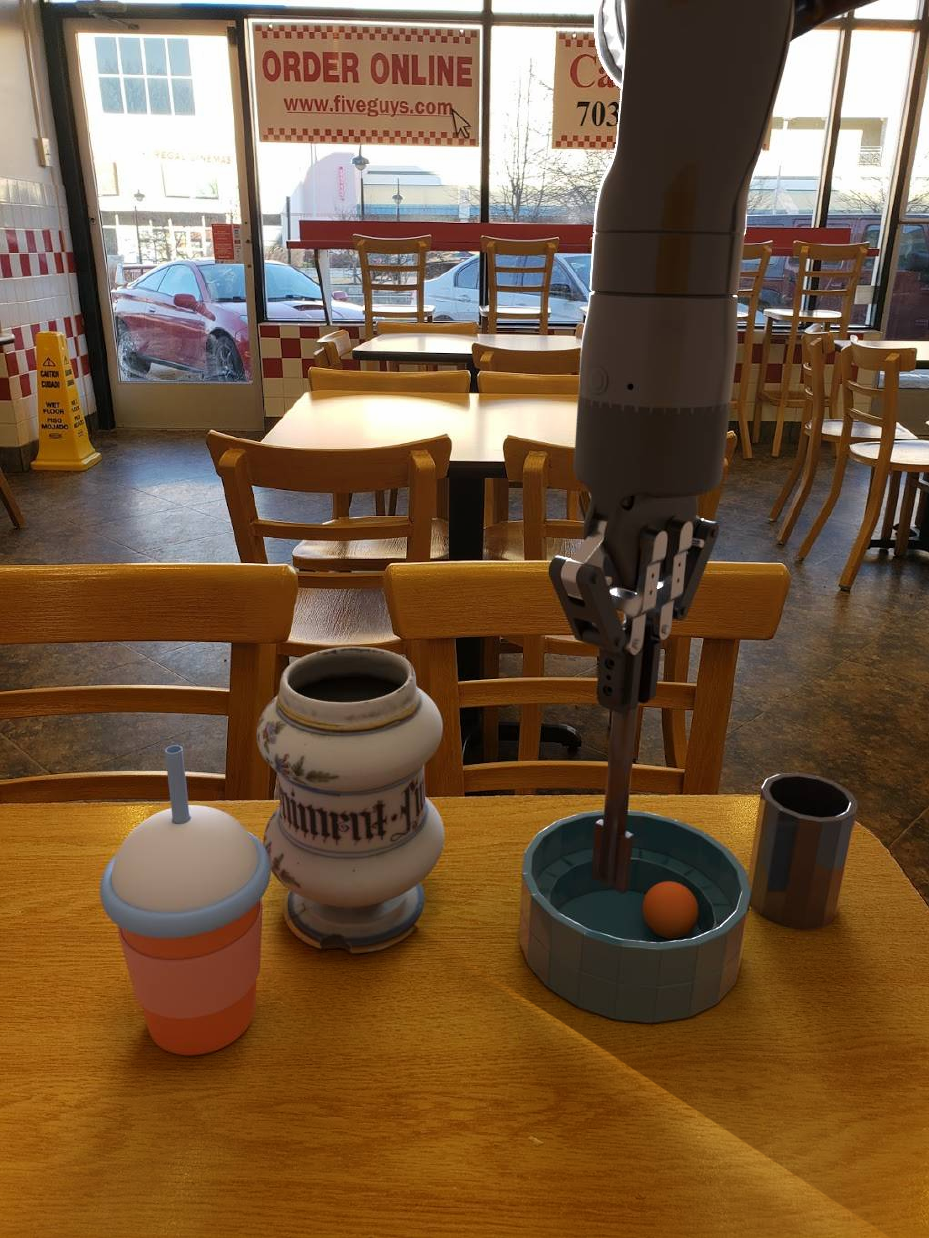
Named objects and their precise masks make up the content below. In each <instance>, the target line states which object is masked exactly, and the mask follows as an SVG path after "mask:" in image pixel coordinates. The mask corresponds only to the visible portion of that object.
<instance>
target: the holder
mask: <svg viewBox="0 0 929 1238" xmlns="http://www.w3.org/2000/svg"><path fill="white" fill-rule="evenodd" d="M858 806H859V803H858V802H857V800H856V798H855V796H854V794H853V793H852V792H851V791H850V790H848V789H847V788H845V787H844V786H842V785H841V784H840V783H837V782H836V781H833V780H830V779H828V778H825V777H823V776H821V775H815V774H809V773H803V772H786V773H785V772H784V773H777V774H776V775H773V776H771V777H769V778H766V779H765V780H764V782H763V784H762V786H761V789H760V795H759V802H758V808H757V815H756V822H755V827H754V835H753V840H752V847H751V853H750V854H751V855H750V861H749V866H748V867H749V868H748V873H747V877H748V881H749V885H750V888H751V900H750V907H752V909H754V910H755V912H756V913H758V914H759V915H760V916H762V917H763V918H765V919H766V920H768V921H769V922H772V923H775V924H776V925H779V926H782V927H786V928H790V929H795V930H803V931H804V930H806V931H807V930H817V929H820V928H824V927H826V926H828V925H829V924H831V923H832V922H833V921H834V920H835V918H836V915H837V912H838V909H839V903H840V899H841V893H842V888H843V882H844V877H845V872H846V867H847V863H848V857H849V852H850V848H851V842H852V837H853V832H854V828H855V822H856V816H857V813H858V812H857V811H858Z"/></svg>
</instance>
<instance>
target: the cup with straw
mask: <svg viewBox="0 0 929 1238" xmlns="http://www.w3.org/2000/svg"><path fill="white" fill-rule="evenodd" d="M183 749H184V748H183V747H182V746H181V745H176V744H174V745H170V746H167V747H166V748H164V754H165V763H166V773H167V783H168V790H169V798H170V799H169V800H170V808H167V809H164V810H161V811H159V812H157V813H154V814H152V815H151V816H149V817H147V818H146V819H145V820H143V821H142V822H140V823H139V824H138V825H137V826H136V827H134V828H133V830H131V832H130V833H129V834H128V835H127V836H126V838H125V839H124V840H123V842H122V843H121V845H120V846H119V848H118V851H117V852H116V854H115V855H114V856H113V857H111V859H110V861H109V862H108V864H107V865H106V867H105V869H104V871H103V873H102V877H101V879H100V886H99V897H100V902H101V906H102V908H103V909H104V912H105V913H106V915H107V916H108V918H109V919H110V920H111V922H113V923H114V924H115V925H116V926H117V932H118V938H119V941H120V945H121V949H122V952H123V956H124V959H125V964H126V967H127V971H128V974H129V978H130V982H131V984H132V990H133V993H134V996H135V998H136V1000H137V1001H138V1003H139V1004H140V1005H141V1009H142V1012H143V1015H144V1020H145V1024H146V1027H147V1030H148V1033H149V1035H150V1037H151V1039H152V1041H153V1042H154V1043H155V1044H156V1045H157V1046H158V1047H160V1048H161V1049H162V1050H164V1051H165V1052H168V1053H171V1054H175V1055H181V1056H199V1055H206V1054H209V1053H213V1052H215V1051H218V1050H220V1049H223V1048H225V1047H227V1046H228V1045H230V1044H231V1043H233V1042H234V1041H236V1040H237V1039H238V1038H240V1037H241V1036H242V1035H243V1034H244V1033H245V1032H246V1031H247V1029H248V1028H249V1027H250V1025H251V1023H252V1021H253V1019H254V1015H255V1011H256V1002H257V1001H256V1000H257V982H258V981H257V979H258V977H259V974H260V970H261V956H262V955H261V954H262V933H263V932H262V931H263V929H262V927H263V900H262V898H263V897H264V895H265V893H266V892H267V889H268V887H269V884H270V881H271V876H272V871H271V863H270V858H269V855H268V852H267V850H266V848H265V847H264V845H263V841H261V840H260V839H259V838H258V837H257V836H256V835H255V834H253V833H252V832H250V831H248V830H247V828H246V827H245V826H244V825H243V824H242V823H241V822H240V821H239V820H238V819H236V818H235V817H233V816H232V815H230V814H229V813H227V812H224V811H223V810H220V809H219V808H218V809H217V808H214V807H210V806H206V805H197V804H189V798H188V789H187V780H186V778H187V777H186V771H185V770H186V768H185V761H184V751H183Z"/></svg>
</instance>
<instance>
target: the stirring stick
mask: <svg viewBox="0 0 929 1238" xmlns="http://www.w3.org/2000/svg"><path fill="white" fill-rule="evenodd" d="M621 624H622V627H623V628H625V625H626V621H624V622H623V621H622V622H621ZM644 637H645V629H644ZM644 637H643V644H642V647H641V649H640V651H642V658H643V647H644ZM641 668H642V659H641ZM640 679H641V670H640ZM639 690H640V680H639ZM638 700H639V691H638ZM638 710H639V702H638V701H637V707H636V709H635V710H633V711H631V712H630V713H628V714H626V715H623V714H620V713H618V712H615V711H612V710H611V723H610V733H609V734H610V735H609V746H608V756H607V757H608V758H607V767H606V768H607V770H606V779H605V780H606V782H605V791H604V792H605V793H604V806H603V810H604V816H603V820H599V821H597V822H596V823H595V834H594V846H593V859H592V871H591V878H593V879H595V880H597V881H599V882H601V883H603V884H604V885H606V886H608V887H610V888H612V889H614V890H616V891H618V892H620V893H622V894H624V893H625V892H626V891H628V887H629V876H630V866H631V856H632V846H633V836H634V835H633V834H631V833H629V832H627V831H626V827H627V816H628V810H629V803H630V794H631V783H632V774H633V773H632V772H633V762H634V751H635V743H636V742H635V740H636V731H637V720H638Z"/></svg>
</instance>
